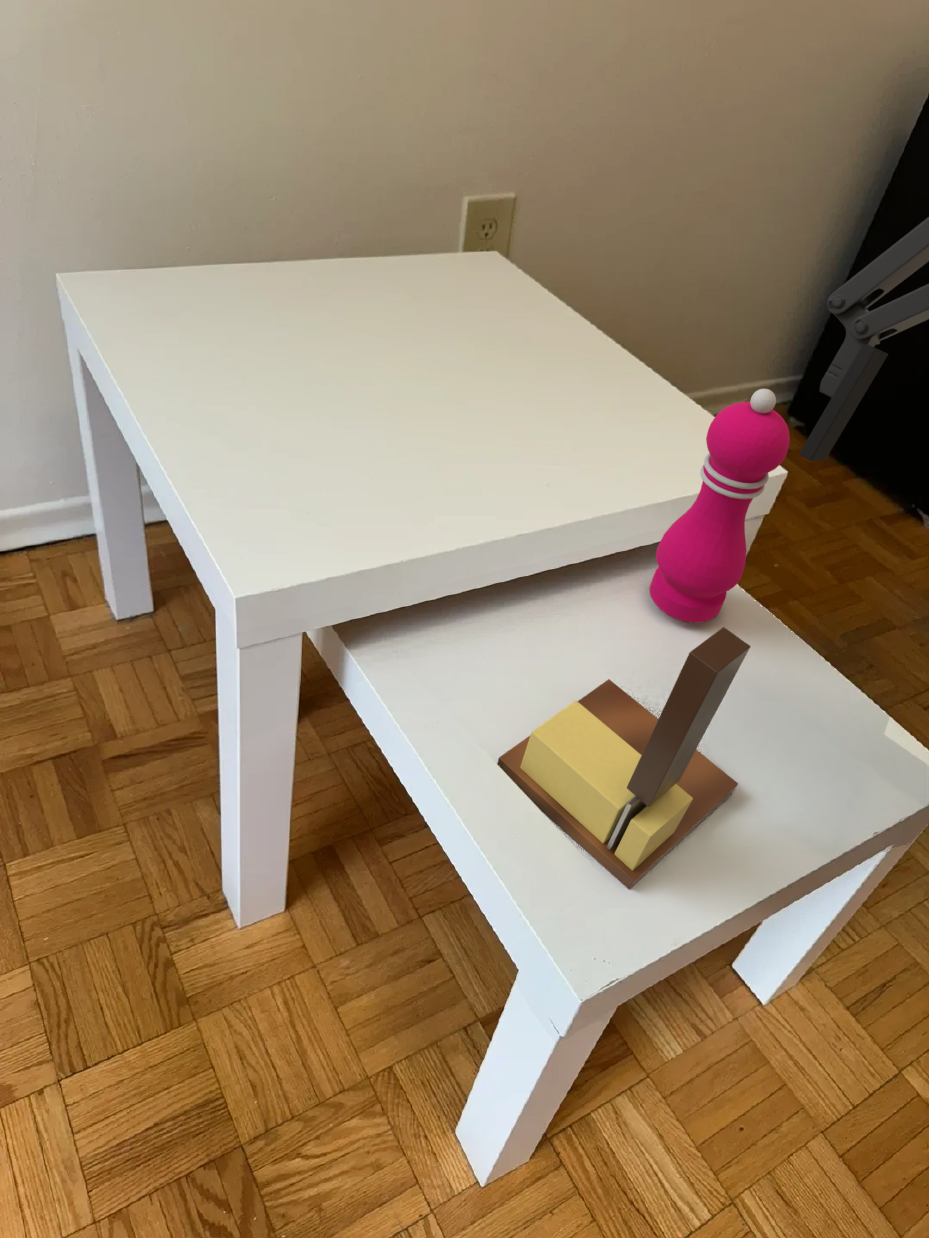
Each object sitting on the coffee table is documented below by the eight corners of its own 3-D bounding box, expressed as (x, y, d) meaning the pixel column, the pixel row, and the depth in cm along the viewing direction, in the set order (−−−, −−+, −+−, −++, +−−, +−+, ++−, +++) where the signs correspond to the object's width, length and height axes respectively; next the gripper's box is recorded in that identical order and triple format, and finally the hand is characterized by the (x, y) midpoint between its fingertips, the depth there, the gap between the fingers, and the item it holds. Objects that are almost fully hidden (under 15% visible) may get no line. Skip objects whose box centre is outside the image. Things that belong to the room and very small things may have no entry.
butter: (674, 832, 61) (693, 798, 58) (632, 871, 59) (650, 837, 56) (562, 735, 66) (576, 699, 63) (519, 768, 63) (531, 731, 60)
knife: (663, 818, 62) (759, 639, 50) (618, 858, 59) (708, 679, 47) (642, 800, 62) (731, 620, 50) (597, 839, 60) (680, 658, 48)
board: (731, 795, 66) (738, 783, 65) (627, 893, 59) (633, 881, 58) (603, 691, 71) (608, 678, 70) (494, 770, 64) (498, 757, 63)
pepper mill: (661, 561, 84) (735, 356, 70) (736, 595, 82) (827, 390, 68) (630, 602, 79) (704, 390, 66) (710, 639, 77) (803, 428, 63)
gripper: (1524, 214, 38) (1165, 636, 47) (952, 46, 49) (751, 414, 58) (1587, 171, 32) (1163, 662, 41) (921, -8, 43) (703, 410, 53)
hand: (922, 518), depth 50 cm, fingers open, 13 cm apart
